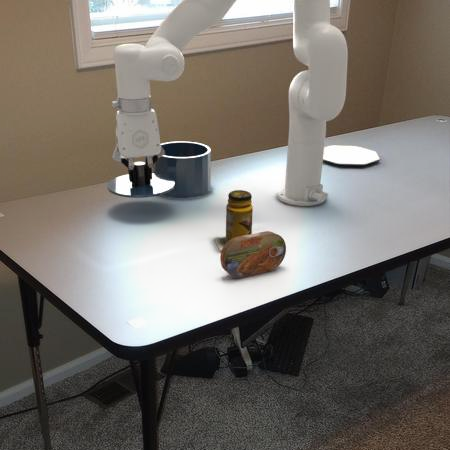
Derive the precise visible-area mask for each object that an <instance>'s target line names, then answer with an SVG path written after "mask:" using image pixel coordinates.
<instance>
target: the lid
mask: <svg viewBox="0 0 450 450" xmlns="http://www.w3.org/2000/svg"><path fill="white" fill-rule="evenodd" d="M145 163H146V162H144V161H135V162H134V169H135V170H136V176H137V186H134V185H133V184H132V182H130V181H129V173H127V174H124V175H120V176H117V177H114V178H112V179H111V180H109V181H108V183H107V186H106V187H107V190H108V192H109V193H111V194H113V195H115V196H118V197H123V198H129V199H144V198H145V199H146V198H154V197H158V196H163V195H162V194H165V193H168V192H170V191H171V190H172V189H173V188H174V187H175V182H174V180H173V179H172V178H170V177H167V176H164V175H160V174H154V172H152V180H151V184H147V180H146V166H145Z"/></svg>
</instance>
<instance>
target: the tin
mask: <svg viewBox="0 0 450 450" xmlns="http://www.w3.org/2000/svg"><path fill="white" fill-rule="evenodd" d="M286 253H287V245H286V241H285V239H284V238H283V236H281V234H279V233H276V232H273V231H271V230H269V231H268V230H265V231H260V232H254V233H252V234H250V235H245V236H240V237H235V238H233V239H231V240H229V241H228V242H227V243H226V244H225V245H224V247H223V249H222V251H220V255H219V256H220V258H219V259H220V265H221V268H222V269H223V270H224V271H225V272H226V273H227V274H228V275H229V276H230V277H231V278H232V277H233V278H235V279H242V278H246V277H251V276H254V275H255V276H256V275H259V274H264V273H268V272H272V271H274V270H275V269H277V268H278V267H279V266H281V264H282V262H283V261H284V259H285V257H286Z"/></svg>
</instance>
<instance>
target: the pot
mask: <svg viewBox="0 0 450 450" xmlns="http://www.w3.org/2000/svg"><path fill="white" fill-rule="evenodd" d="M161 146H162V148H163V149H164V151H165V154H164V155H163V156H161V157H160V158H158V159H157V161H156V162H155V163H154V165H153V167H152V172H153V174H160V175H164V176H167V177H170V178H172V179H173V180H174V182H175V187H174V188H173V189H172V190H171V191H170V192H168V193H165V194H162V195H161V196H165V197H169V198H175V199H184V198H185V199H187V198H196V197H201V196H205V195H207V194H208V193H210V192H211V187H212V186H211V185H212V184H211V183H212V182H211V177H212V176H211V175H212V174H211V172H212V169H211V167H212V165H211V163H212V161H211V157H212V156H211V153H212V150H211V148H210V147H209V145H206V144H204V143H200V142H194V141H193V142H192V141H169V142H163V143H161Z"/></svg>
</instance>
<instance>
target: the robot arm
mask: <svg viewBox="0 0 450 450" xmlns="http://www.w3.org/2000/svg"><path fill="white" fill-rule="evenodd" d="M237 1H238V0H181V2H179V3H178V4H177V5H176V7H174V8H173V9H172V10H171V11H170V13H169V14H168V15H167V16H166V17H165V18H164V19H163V21H162V22H161V23H160V24H159V26H158V27H157V28H156V29H155V31H154V32H153V33H152V34H151V36H150V37H149V39H148V41H147V42H146V43H145V45H142V44H139V43H123V44H119V45H117V46H115V48H114V51H113V57H114V70H115V81H116V91H117V96H116V100H113V101H111V104H112V108H116V109H118V110H117V111H116V115H115V148H114V150H113V153H112V156H111V158H112V159H113V160H114V161H115V162H118V163H121V164H123V165H124V166H125V167H126V168H127V172H128V173H127V174H129V181H130V182H132V184H133V185H134V186H137V176H136V170H135V169H134V163H135V161H134V160H135V158H137V159H138V158H144V161H145V162H144V163H145V166H146V180H147V184H151V180H152V173H153V165H154V163H155V162H156V161H157V159H158V158H160V157H161V156H163V155H164V154H165V151H164V149H163V148H162V146H161V144H162V143H161V137H160V129H159V122H158V117H157V113H156V110H155V109H154V108H152V97H151V84H150V83H151V81H155V82H156V81H157V82H173V81H176V80H178V79H179V78H180V77H181V76H182V75H183V73H184V70H185V64H186V63H185V57H184V55H183V53H182V52H183V50H184V49H185V48H186V46H187V45H188V44H189V43H190V42H191V41H192V40H193V39H194V38H195V37H196V36H198V35H199V34H201V33H203V32H205V31H206V30H210V29H211V28H214V27H215V26H217V25H218V24H220V22H221V21H223V19H224V17H225V16H226V15H227V13H228V12H229V11H230V9H231V8H232V7H233V6H234V5H235V3H236V2H237ZM292 11H293V14H292V15H293V19H292V20H293V26H292V29H293V31H292V34H293V36H292V46H293V47H292V48H293V54H294V56H295V59H296V60H297V61H298V62H300V63H301V64H303V65H305V66H307V67H308V69H306V70H302V71H300V72H299V73H297V74H296V75H295V76H294V77H293V79H292V81H291V83H290V84H289V85H290V86H289V88H288V113H289V114H288V115H289V120H288V121H289V122H288V123H289V124H288V139H287V150H286V151H287V152H286V167H285V181H284V188H283V189H281V190H280V191H279V192H278V199H279V200H280V201H281V202H282V203H284V204H288V205H292V206H298V207H313V206H317V205H320V204H323V203H324V202H325V200H326V199H327V198H328V197H329V193H328V192H326V191H323V190H324V184H323V183H321V182H322V171H323V165H324V163H323V162H324V160H323V154H324V147H325V144H326V138H327V137H326V136H327V122H330V121H332V120H334V119H335V118H337V117H338V116H339V115H340V113H341V112H342V110H343V108H344V105H345V102H346V97H347V82H348V81H347V80H348V79H347V78H348V57H349V55H348V54H349V53H348V51H349V50H348V43H347V39H346V38H345V35H344V34H343V32H342V31H341V29H339V28H338V27H336V26H334V25H333V24H331V0H292Z"/></svg>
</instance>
